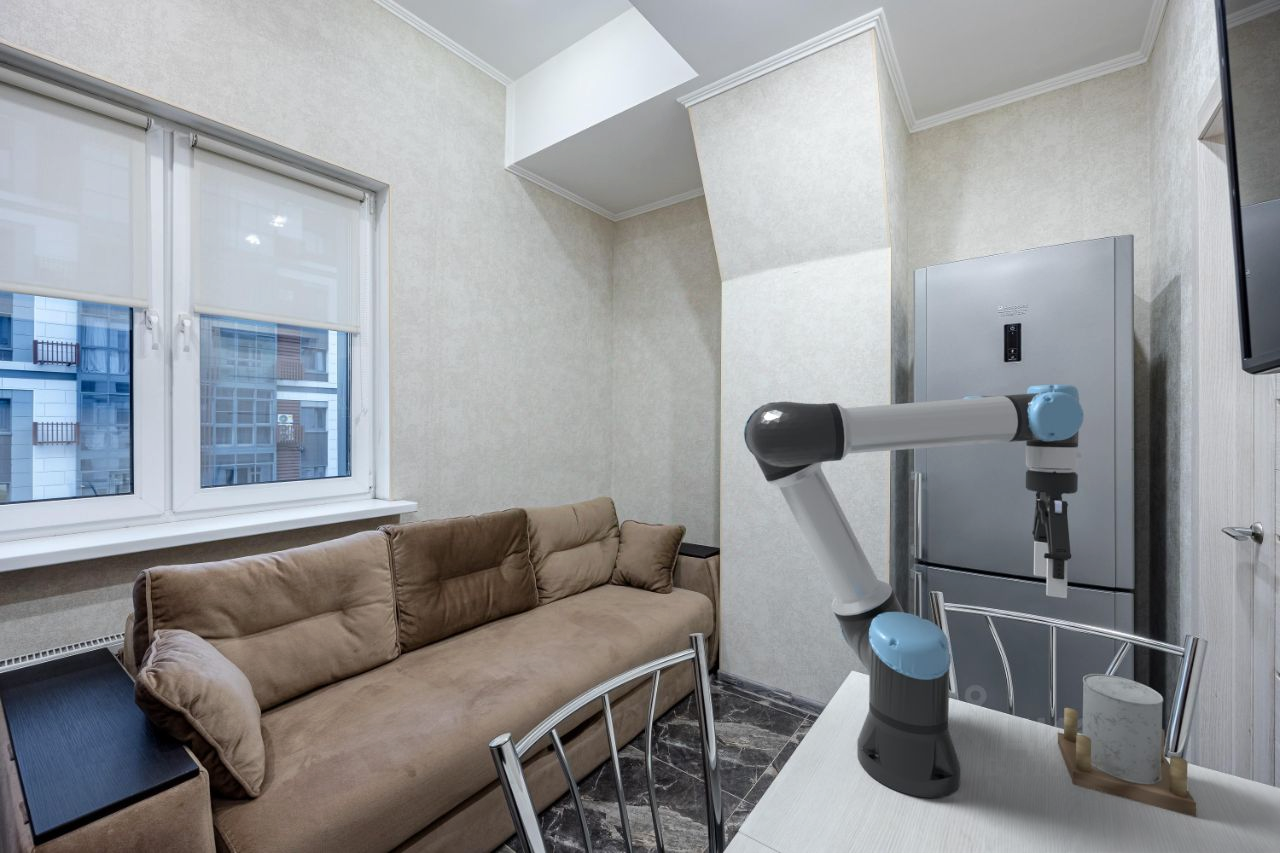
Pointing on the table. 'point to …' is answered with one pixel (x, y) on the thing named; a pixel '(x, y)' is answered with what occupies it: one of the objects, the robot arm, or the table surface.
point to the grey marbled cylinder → (1123, 727)
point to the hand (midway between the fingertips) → (1049, 585)
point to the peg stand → (1082, 773)
